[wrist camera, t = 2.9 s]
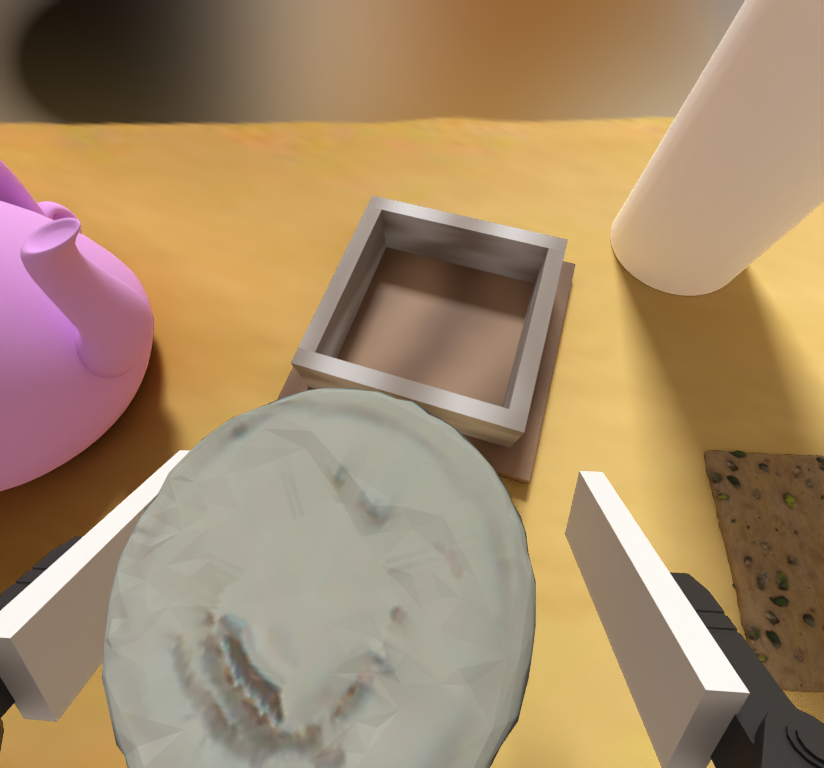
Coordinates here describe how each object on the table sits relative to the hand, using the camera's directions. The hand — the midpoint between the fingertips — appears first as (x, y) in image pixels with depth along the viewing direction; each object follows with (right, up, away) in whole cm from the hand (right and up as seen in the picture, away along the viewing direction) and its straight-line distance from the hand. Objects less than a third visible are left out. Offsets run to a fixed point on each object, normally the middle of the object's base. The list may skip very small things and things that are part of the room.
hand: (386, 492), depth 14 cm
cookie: (+24, -6, +8) cm, 26 cm away
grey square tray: (+3, +7, +13) cm, 15 cm away
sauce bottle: (0, -6, +8) cm, 10 cm away
